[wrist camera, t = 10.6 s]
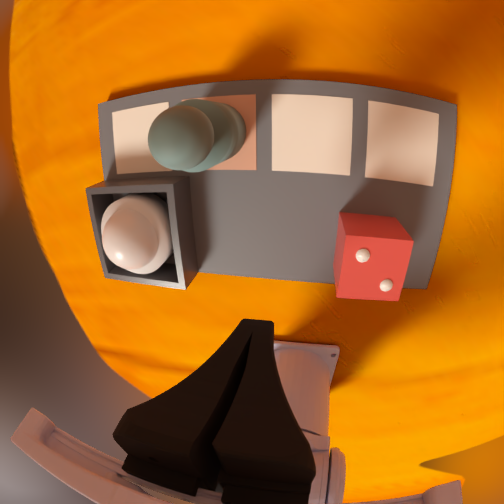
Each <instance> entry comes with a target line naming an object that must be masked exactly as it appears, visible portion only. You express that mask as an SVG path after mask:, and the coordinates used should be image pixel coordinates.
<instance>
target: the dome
mask: <svg viewBox="0 0 504 504" xmlns="http://www.w3.org/2000/svg"><path fill="white" fill-rule="evenodd" d="M101 233H102V244H103V248H104V251H105V253H106V255H107V257H108V258H109V259H110V260H111V261H112V262H113V263H114V264H115V265H117V266H119V267H121V268H124V269H126V270H128V271H130V272H133V273H137V274H148V273H151V272H154V271H155V270H157V269H158V268H159V267H160V266H161V265H162V264H163V263H164V262H165V261H166V260H167V259H168V258H169V257H170V256H171V255H172V253H173V252H174V249H173V242H172V234H171V226H170V218H169V209H168V205H167V204H166V202H164V201H163V200H162V199H161V198H160V197H158V196H156V195H154V194H152V193H149V192H143V193H131V194H129V195H127V196H125V197H123V198H121V199H119V200H117V201H115V202H113V203H112V204H110V205H109V206H108V207H107V209H106V210H105V212H104V214H103V217H102V222H101Z"/></svg>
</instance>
